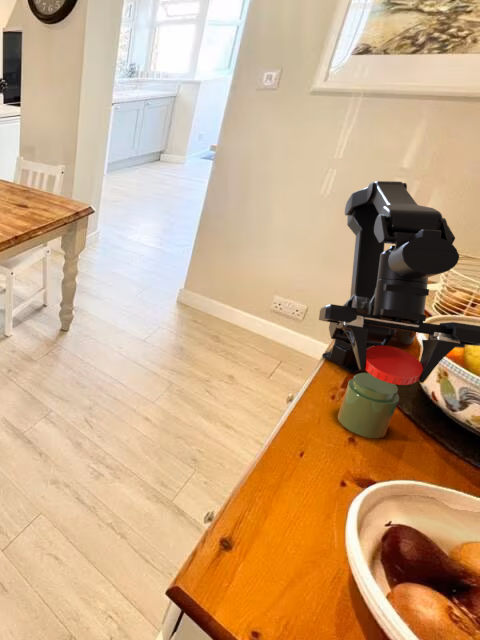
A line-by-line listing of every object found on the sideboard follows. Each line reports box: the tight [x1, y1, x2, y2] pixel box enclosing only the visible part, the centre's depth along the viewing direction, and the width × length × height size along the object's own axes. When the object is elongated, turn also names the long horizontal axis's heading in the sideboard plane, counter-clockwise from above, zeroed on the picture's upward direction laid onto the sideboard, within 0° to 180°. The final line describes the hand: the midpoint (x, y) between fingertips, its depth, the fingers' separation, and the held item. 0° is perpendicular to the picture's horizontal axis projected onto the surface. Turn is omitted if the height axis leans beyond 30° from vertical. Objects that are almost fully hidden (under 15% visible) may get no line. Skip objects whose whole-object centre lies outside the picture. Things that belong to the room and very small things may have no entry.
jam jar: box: [337, 372, 400, 439], centre depth 71 cm, size 6×6×10 cm
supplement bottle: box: [388, 322, 417, 349], centre depth 90 cm, size 7×7×12 cm
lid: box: [364, 346, 423, 386], centre depth 66 cm, size 7×7×2 cm
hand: (390, 375), depth 65 cm, fingers closed on lid, 6 cm apart
